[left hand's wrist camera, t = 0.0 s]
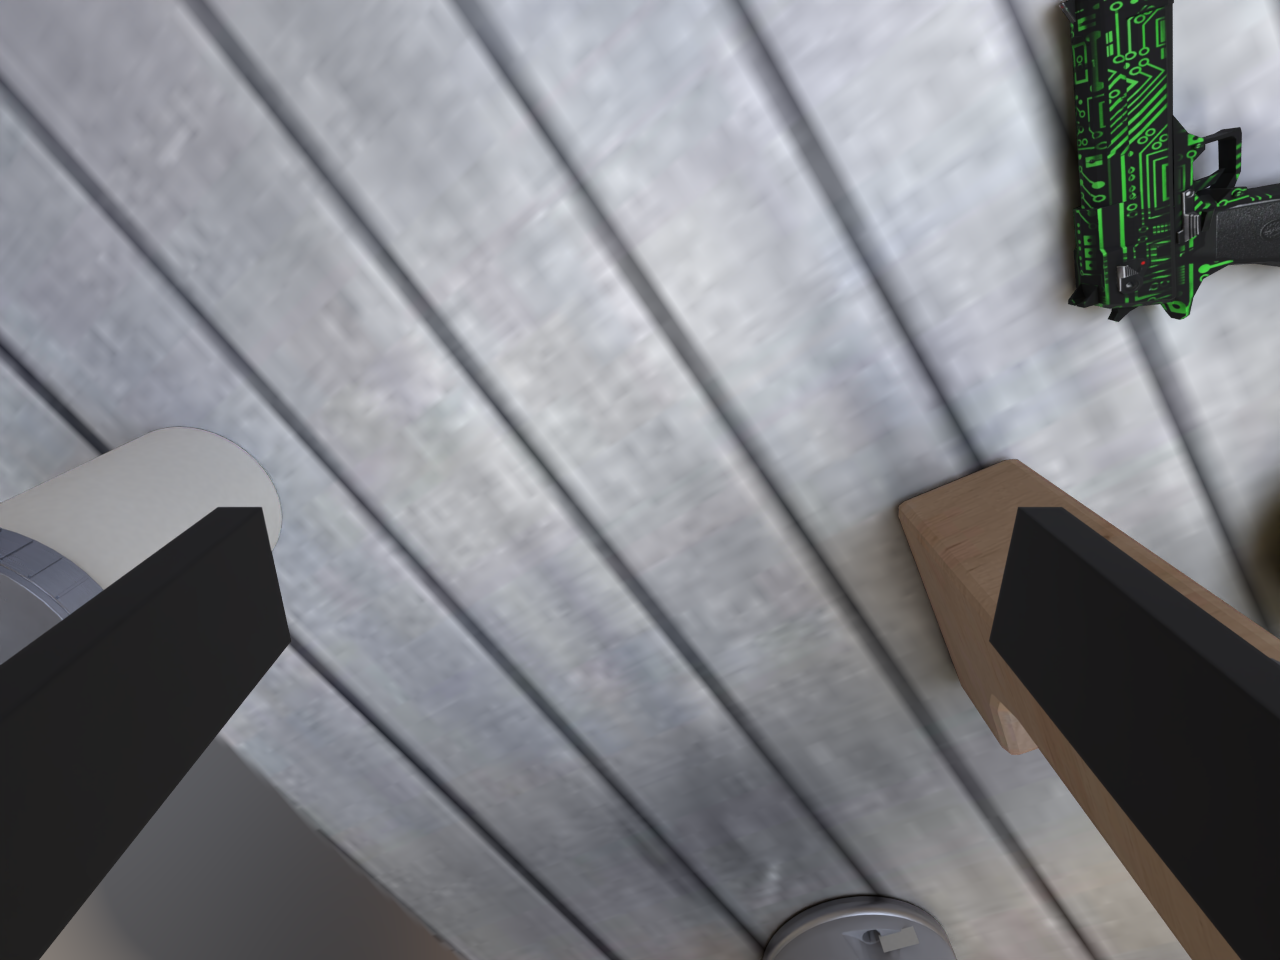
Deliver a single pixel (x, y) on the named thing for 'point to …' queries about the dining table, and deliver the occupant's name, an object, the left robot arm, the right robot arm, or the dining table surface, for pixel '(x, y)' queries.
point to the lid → (36, 590)
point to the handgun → (1151, 171)
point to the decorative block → (965, 607)
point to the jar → (140, 499)
